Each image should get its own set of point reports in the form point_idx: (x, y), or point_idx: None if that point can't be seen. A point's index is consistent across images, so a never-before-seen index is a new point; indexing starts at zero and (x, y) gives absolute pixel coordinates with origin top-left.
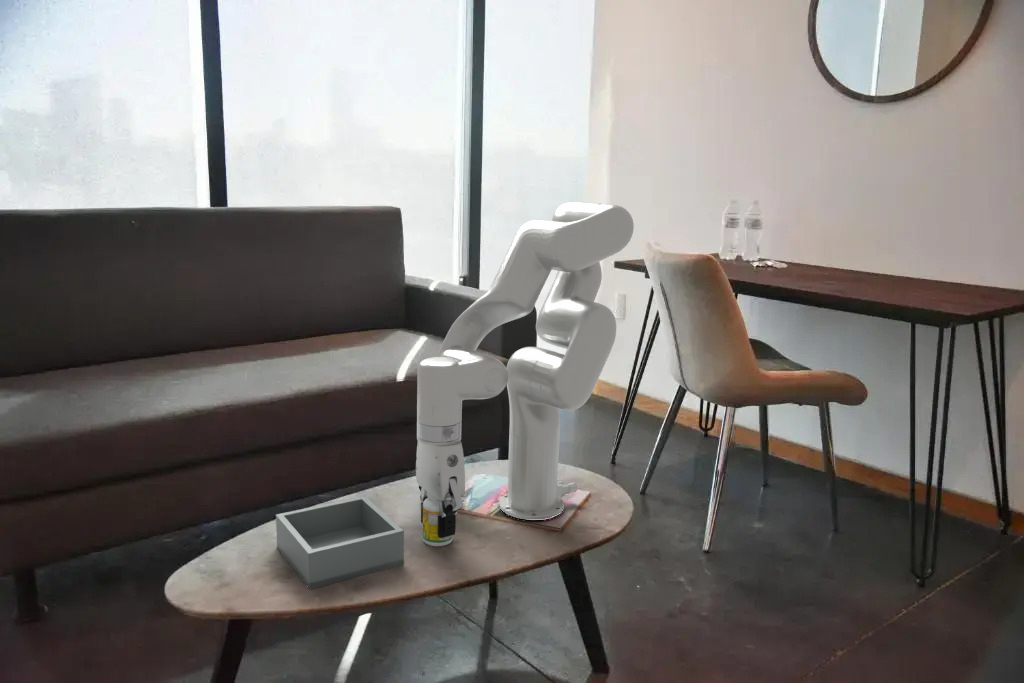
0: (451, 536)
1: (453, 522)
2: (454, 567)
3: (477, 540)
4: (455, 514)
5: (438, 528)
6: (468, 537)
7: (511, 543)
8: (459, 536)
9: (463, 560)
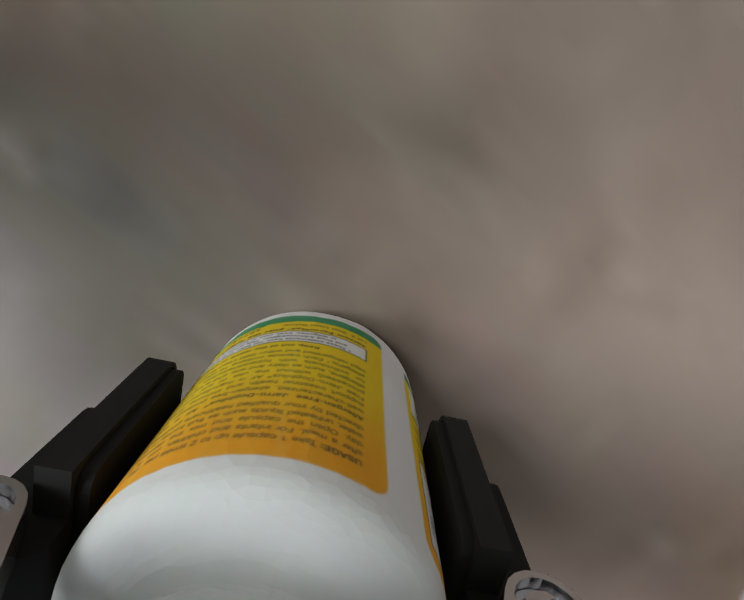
0: (410, 391)
1: (518, 539)
2: (634, 534)
3: (502, 204)
4: (506, 538)
5: None
6: (420, 221)
7: (738, 35)
8: (363, 259)
9: (620, 453)
